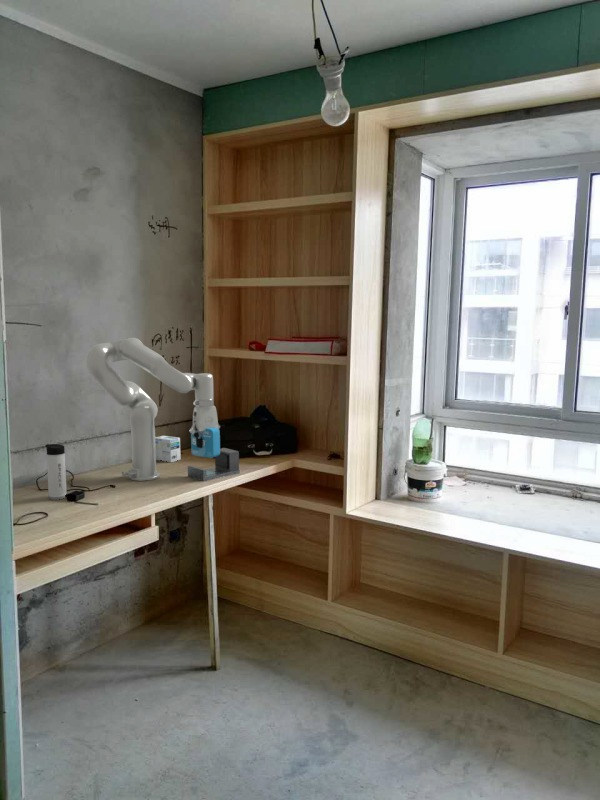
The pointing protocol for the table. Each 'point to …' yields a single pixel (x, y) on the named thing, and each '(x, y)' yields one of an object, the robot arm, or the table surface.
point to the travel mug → (56, 471)
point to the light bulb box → (167, 448)
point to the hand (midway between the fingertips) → (205, 446)
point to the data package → (207, 443)
